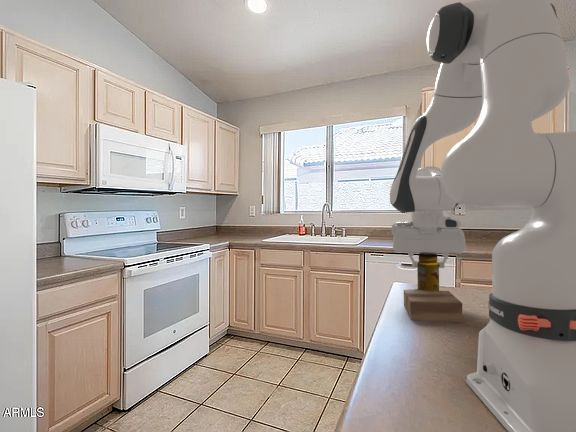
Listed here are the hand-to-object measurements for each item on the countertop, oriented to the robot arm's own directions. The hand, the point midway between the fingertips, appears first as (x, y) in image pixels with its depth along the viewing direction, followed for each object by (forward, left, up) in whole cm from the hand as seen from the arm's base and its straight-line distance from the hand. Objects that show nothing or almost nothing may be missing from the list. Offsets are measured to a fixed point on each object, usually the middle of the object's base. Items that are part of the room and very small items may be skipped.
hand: (428, 267), depth 99 cm
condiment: (0, +1, -8) cm, 8 cm away
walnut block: (-13, +1, -10) cm, 16 cm away
